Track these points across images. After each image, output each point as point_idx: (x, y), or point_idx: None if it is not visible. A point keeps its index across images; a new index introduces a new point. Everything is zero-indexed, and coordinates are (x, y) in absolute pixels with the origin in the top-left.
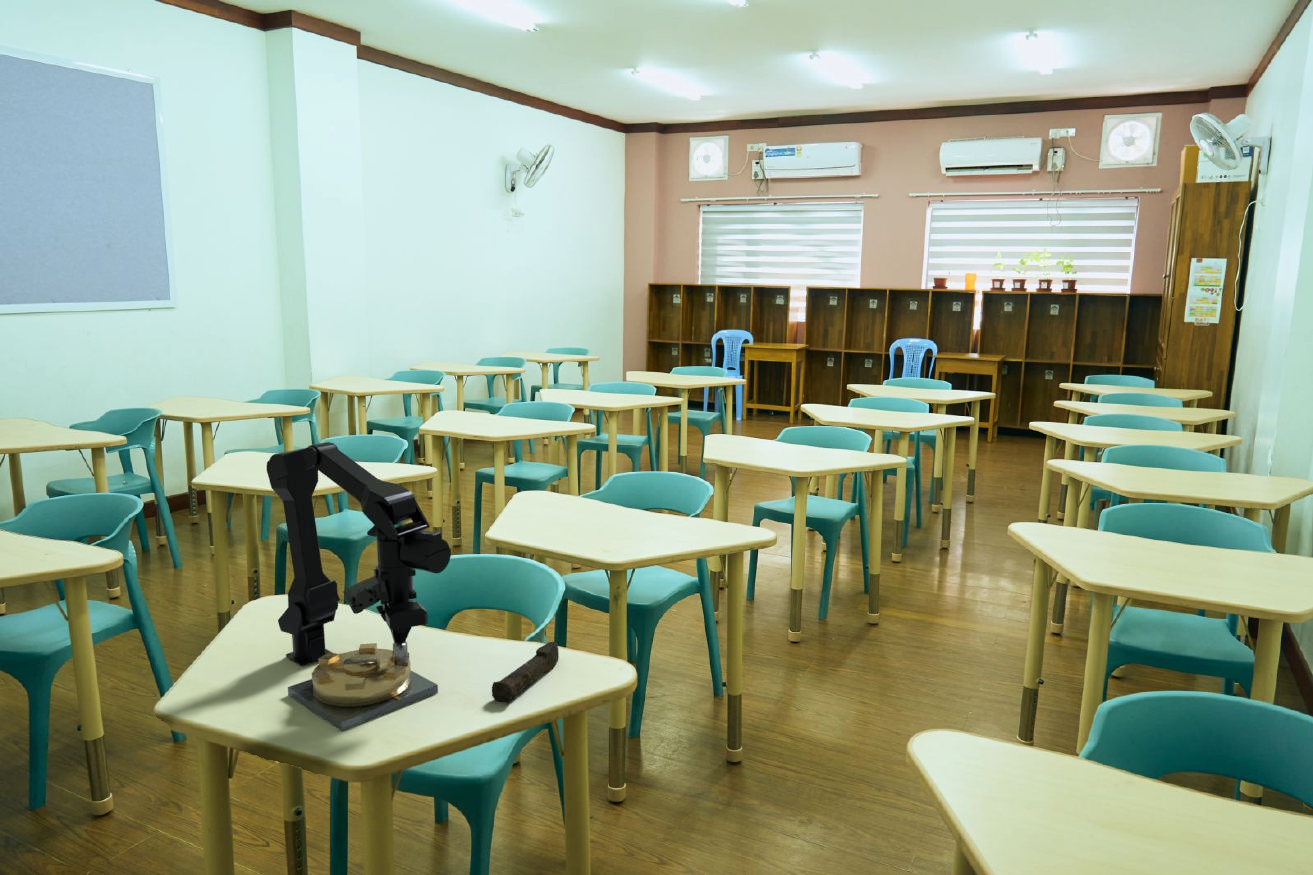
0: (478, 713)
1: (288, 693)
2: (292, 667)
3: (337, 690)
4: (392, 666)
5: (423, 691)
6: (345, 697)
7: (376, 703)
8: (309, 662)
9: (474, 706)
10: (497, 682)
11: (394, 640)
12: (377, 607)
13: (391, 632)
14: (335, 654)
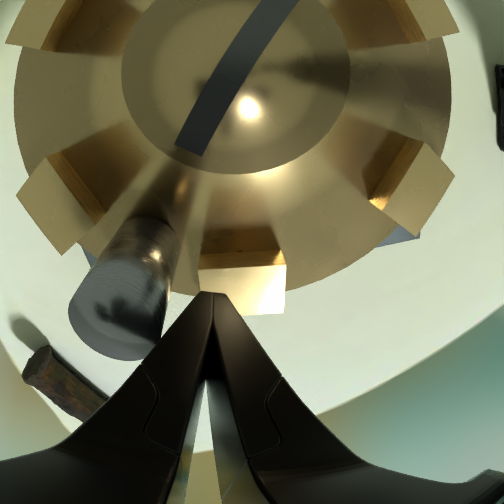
0: (9, 303)
1: None
2: (500, 53)
3: None
4: (157, 211)
5: (85, 251)
6: None
7: None
8: (499, 84)
9: (33, 311)
10: (30, 376)
11: (176, 323)
12: (495, 500)
13: (242, 359)
14: (428, 27)
